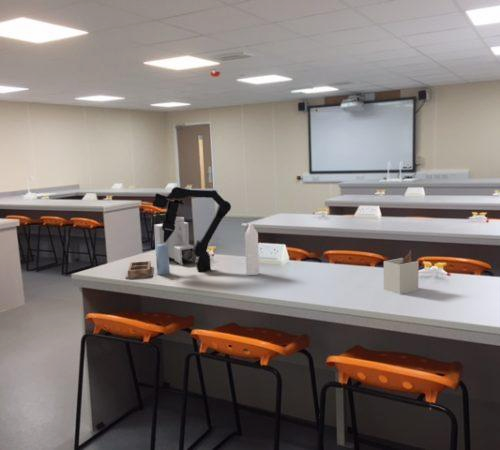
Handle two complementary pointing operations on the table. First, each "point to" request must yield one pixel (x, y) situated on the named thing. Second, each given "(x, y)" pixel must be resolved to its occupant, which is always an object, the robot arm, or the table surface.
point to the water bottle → (251, 250)
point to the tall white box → (401, 275)
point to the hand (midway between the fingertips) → (164, 240)
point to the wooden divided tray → (139, 270)
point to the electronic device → (177, 241)
